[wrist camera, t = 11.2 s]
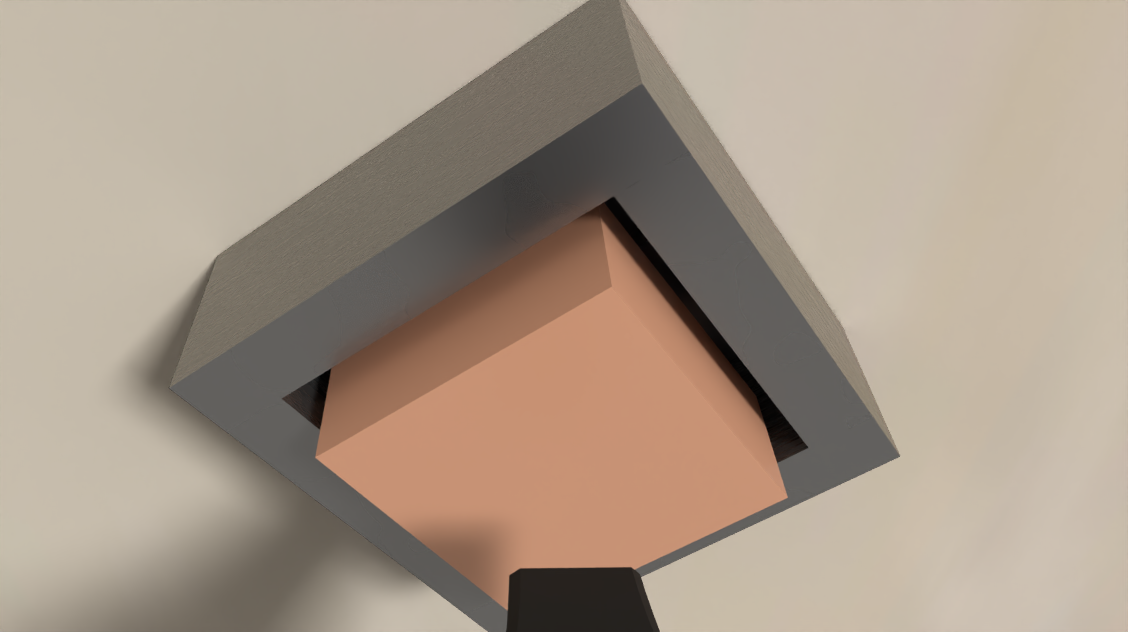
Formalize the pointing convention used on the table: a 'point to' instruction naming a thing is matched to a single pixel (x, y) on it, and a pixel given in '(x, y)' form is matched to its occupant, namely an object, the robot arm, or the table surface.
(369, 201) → the button housing
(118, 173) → the table surface
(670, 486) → the button
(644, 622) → the robot arm
